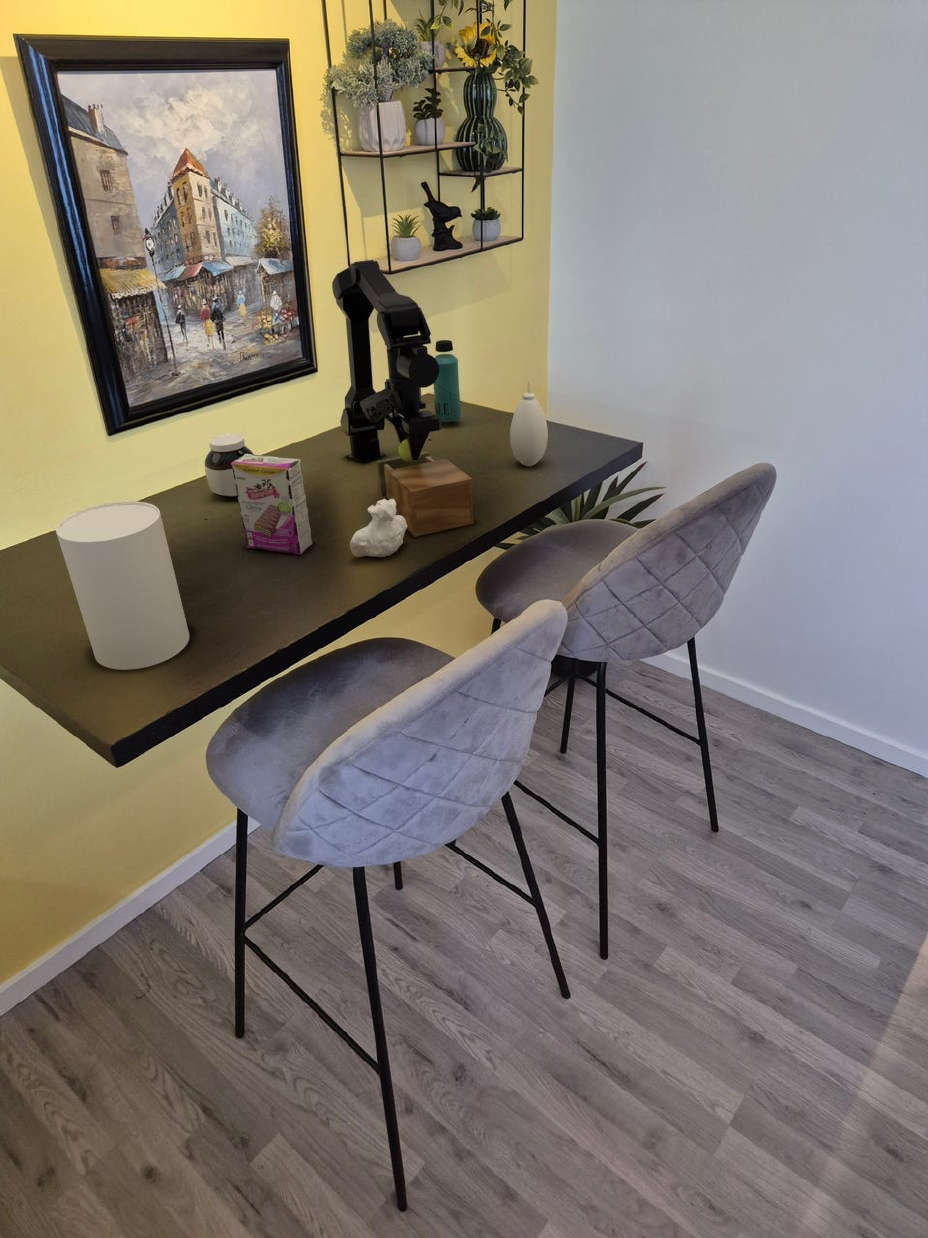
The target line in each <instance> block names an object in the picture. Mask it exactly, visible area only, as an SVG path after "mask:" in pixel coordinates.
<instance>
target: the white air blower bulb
mask: <svg viewBox="0 0 928 1238" xmlns="http://www.w3.org/2000/svg"><path fill="white" fill-rule="evenodd" d="M530 385H531V384H530V381H529V380H528V381H527V392H524V393H522V396H521V399H520V401H519V402H518V403H517V406H516V408H515V410H514V413H513V415H512V419H511V424H510V429H509V442H510V448H511V451H512V453H513V456H514V458H515V459H516V461H518V462H520V464H521V465H524V466H526V467H533V466H534V465H536V464H538V463H539V461H541V460H542V459H543V457H544V456H545V453H546V450H547V446H548V440H549V438H548V437H549V430H548V422H547V418H546V415H545V413H544V410H543V408H542V406H541V403H540V402H539V401H538V399H537V398H536V394H535V393H533V392H531V386H530Z"/></svg>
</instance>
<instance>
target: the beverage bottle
mask: <svg viewBox="0 0 928 1238" xmlns="http://www.w3.org/2000/svg"><path fill="white" fill-rule="evenodd" d="M452 351H454V346H453V341H452V340H449V339H441V340H437V341H436V342H435V352H437V353H440V354H437V355H435V356H434V358H435V359H436V361H437V362H438V365H439V375H438V378H437V380H436V381H435V382H434V383H433V398H434V399H433V400H434V404H433V407H434V414H435V415H436V416H438V417H439V418H440V419H441V423H442V422H443V423H451V422H456V421H459V420H460V419H461V417H462V410H461V408H462V407H461V405H462V404H461V394H460V391H461V390H460V378H459V376H460V375H459V359H458V358H457V357H456V356H455V355H454V354H452V353H449V352H452Z"/></svg>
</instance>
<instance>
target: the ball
mask: <svg viewBox="0 0 928 1238" xmlns="http://www.w3.org/2000/svg"><path fill="white" fill-rule="evenodd" d="M397 450H398V456H399V457H401V458H402V459H403V460H404V461H406V462H414V461H416V460H412V457H411V453H410V449H409V444H408V440H407V439H406V440H404V441H402V442H401V444H399V445H398V449H397ZM420 455H421V453H420ZM419 457H420V456H419Z"/></svg>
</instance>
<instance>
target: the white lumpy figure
mask: <svg viewBox="0 0 928 1238" xmlns="http://www.w3.org/2000/svg"><path fill="white" fill-rule="evenodd" d="M396 512H397V510H396V502H395V500H394V499H390V500H389V499H388V500H387V499H386V498H383V499H380V500H377V501H376V504H375V505H374V504H371V505H370V506H369V507H367V513H368V514H370V515H371V518H372V519H371V521H370V522H369V523H368V525H366V526H365V527H363V528H360V529H358V530H357V531H355V533H354V534H353V536H352V537H351V540H350V542H349V549H350V551H351V553H352V555H353V556H354V557H356V558H361V557H372V558H374V557H375V558H385V557H387V556H388V557H389V556H391V555H392V554H395V552H397V551H398V549H399V548H400V547H401V546H402V544H404V540H403V539H404V536H405V534H406V532H407V529H406V528H407V524H406V520H405V518H404V517H403V516H400V515H396Z"/></svg>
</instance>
